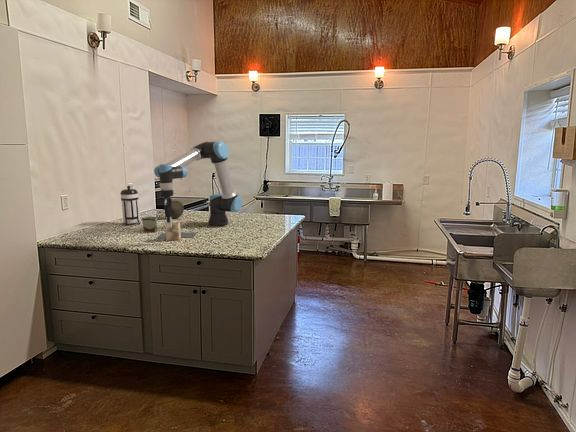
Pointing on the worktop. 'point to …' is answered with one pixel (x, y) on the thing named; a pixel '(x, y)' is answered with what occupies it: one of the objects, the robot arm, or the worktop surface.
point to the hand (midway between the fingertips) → (169, 227)
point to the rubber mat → (183, 235)
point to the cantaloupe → (177, 209)
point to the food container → (149, 224)
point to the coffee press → (130, 206)
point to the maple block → (173, 231)
